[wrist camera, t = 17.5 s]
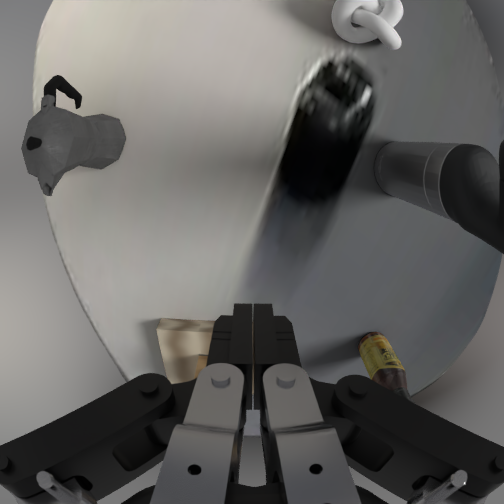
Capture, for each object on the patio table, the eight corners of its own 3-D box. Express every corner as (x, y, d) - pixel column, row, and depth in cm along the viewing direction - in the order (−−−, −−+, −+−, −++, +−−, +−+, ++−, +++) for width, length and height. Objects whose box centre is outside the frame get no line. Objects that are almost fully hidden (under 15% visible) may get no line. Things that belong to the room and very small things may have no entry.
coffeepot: (127, 179, 40) (60, 200, 23) (80, 182, 39) (8, 204, 23) (130, 86, 34) (66, 57, 18) (82, 95, 34) (11, 81, 17)
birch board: (270, 321, 49) (271, 333, 45) (266, 382, 54) (267, 393, 51) (161, 318, 48) (156, 329, 45) (173, 378, 54) (170, 389, 51)
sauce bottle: (389, 336, 51) (430, 404, 32) (369, 357, 53) (402, 427, 34) (370, 324, 50) (413, 397, 31) (349, 346, 51) (382, 422, 33)
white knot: (405, 43, 31) (432, 28, 23) (363, 71, 34) (388, 56, 25) (361, -3, 28) (381, -26, 20) (315, 21, 31) (329, -4, 23)
